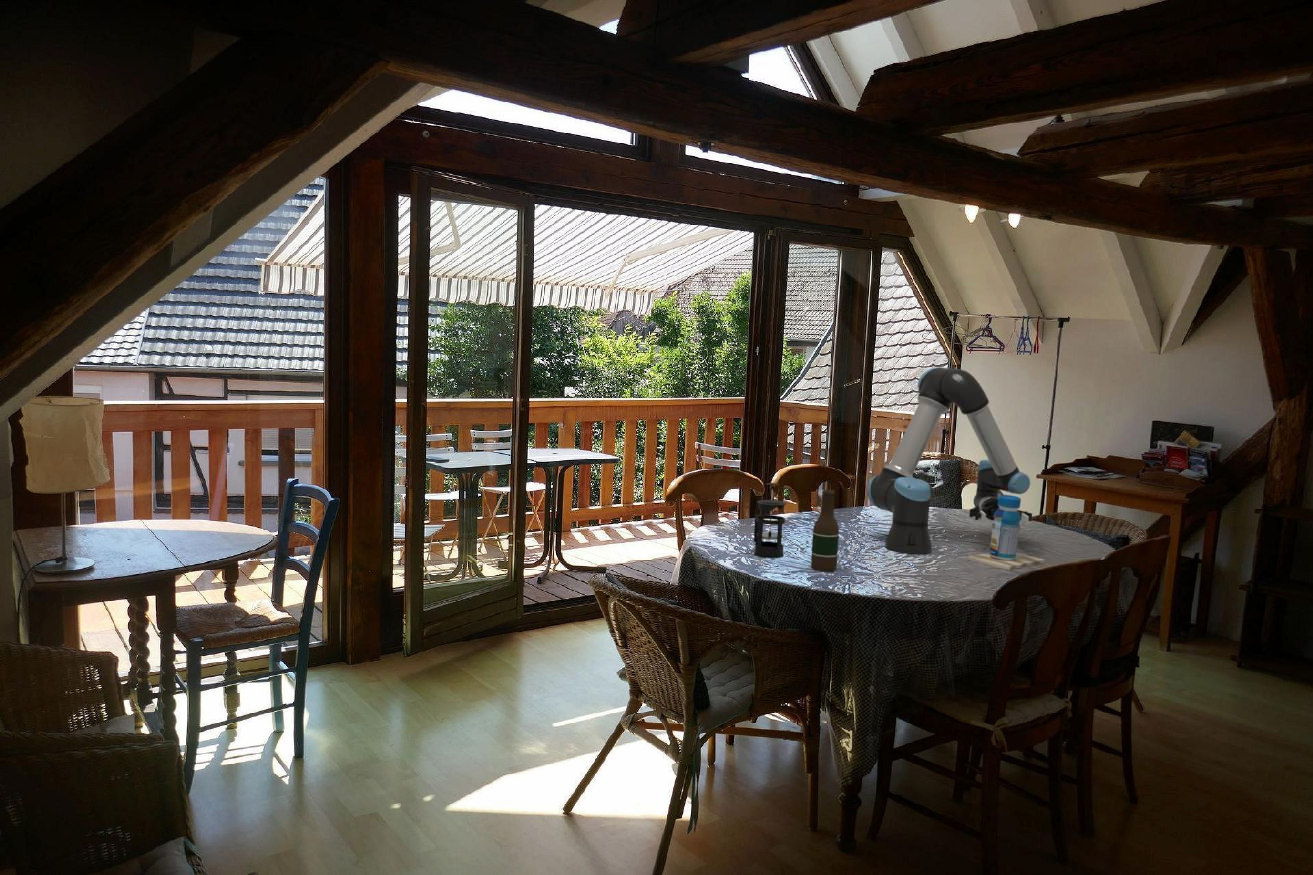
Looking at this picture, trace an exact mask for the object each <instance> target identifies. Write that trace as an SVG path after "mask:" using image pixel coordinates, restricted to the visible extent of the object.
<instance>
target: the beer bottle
mask: <svg viewBox="0 0 1313 875" xmlns="http://www.w3.org/2000/svg"><path fill="white" fill-rule="evenodd" d="M835 493H836V492H835V490H832V489H823V490H822V493H821V494H822V501H821V508H820V514H819V517H818V518H817V519H816V520H815V523H814V526H813V530H812V539H811V540H812V544H811V557H810V558H811V560H810V566H811V569H813V570H815V571H817V572H818V571H819V572H826V573H827V572H834V571H836V569H837V566H838V565H837V564H838V553H839V552H838V551H839V537H840V529H839V528H840V527H839V524H838V523H839V522H837V520H836V517H835V514H834V513H835V511H834V510H835V509H834V504H835V502H834V500H835V499H834V497H835V496H834V495H835Z"/></svg>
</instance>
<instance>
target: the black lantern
mask: <svg viewBox="0 0 1313 875" xmlns="http://www.w3.org/2000/svg"><path fill="white" fill-rule="evenodd" d="M765 485H766V486H770V490H771V499H762V500H757V502H756V503H757V504H758V509H759V510H760V511H765V512H770V514H757V515H756V514H755V516H754V532H753V542H754V543H755V544H754V551H753V555H754V556H756V557H760V558H765V559H766V558H767V559H778V558H779V559H780V558H783V557H784V555H785V554H784V544H782V539H783V538H784V535H783V525H784V524H785V522H786V517H783V516H780V515H773V514H772V513H773V510H776V508H777V509H782V510H785V506H786V505H787V503H786V502H785V501H780V500H775V499H773V497H774V493H773V492H774V489H775V486H776V487H777V486H779V487H780V484H779V483H776V482H768V483H765ZM764 524H765V525H769V530H768V531H767V532H766V531H764ZM772 525H774V526H775V525H777V532H772V530H771V529H772ZM763 540H767V541H763ZM768 540H776V541H768Z"/></svg>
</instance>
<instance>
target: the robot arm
mask: <svg viewBox="0 0 1313 875" xmlns="http://www.w3.org/2000/svg"><path fill="white" fill-rule="evenodd" d="M917 391H918V394H917V398H916V399H917V401H918V405H917V407H916V409H915V411H914V414H913V416H912V418H911V419H910V422H909V424H908V426H907V428H906V430H905V432H904V434H903V436H902V437H901V440H900V442H899V444H898V446H897V448H896V450H895V451H894V454H893V456H892V458H891V460H890V462H889V464H887V465H884V466H883V467H882V469H881V471H880V473H879V474H877V475H874V476H873V477H871V479H869V481H868V484H867V488H866V493H867V494H866V495H867V498H868V501H869V502H870V504H872V505H873V506H874V507H876V508H877V509H880V510H882V511H886V512H890V513H892V518H891V519H892V520H891V526H890V528H889V531H888V534H887V535H886V539H885V543H884V544H885V546H884V547H885V548H886V549H887V550H890V551H893V552H897V553H904V554H915V555H922V554H924V555H925V554H930V553H931V552H932V547H933V543H932V542H931V541H932V540H931V535H930V532H929V519H930V518H929V516H930V515H929V514H930V505H931V504H930V502H931V496H932V493H931V486H930V484H929V483H928V482H927V481H925V480H923V479H920V478H915V477H913V475H914V473H915V470H916V469H917V467H918V465H919V463H920V460H921V458H922V456H923V454H924V452H925V450H926V448H927V446H928V444H929V442H930V439H931V438H932V436H933V434H934V432H935V429H936V427H937V426H938V424H939V422H940V419H941V417H942V415H943V414H946V413H948V412H949V411H950V409H951V407H952V405H953V404H954V405H956V406H957V407H958V408H959V410H960V412H961V414H962V415H966V417H967V419H968V421H969V424H970V425H971V428H972V429H973V432H974V433H975V435H976V437H977V439H978V441H979V444H980V445H981V447H982V449H983V451H984V453H985V455H986V457H987V459H982V460H979V462H978V469H977V480H976V481H977V483H976V494H975V495H974V497H973V505H974V507H973V508H970V509H969V514H968V515H969V518H974V520H975V521H981V522H982V523H986V519H988V520H989V521H992V522H993V521H994V514H995V512H996V510H997V509H998V508H999V507H1000V506H998V498H999V492H1000V491H1002V492H1006V493H1011V494H1016V495H1022V494H1025V493H1026V492H1028V490H1029V488H1030V486H1031V479H1030V477H1029V476H1028V475H1027V473H1024V472H1021V471H1020V470H1019V467H1018V466H1017V463H1016V462H1015V459H1014V457H1013V455H1012V453H1011V451H1010V449H1009V446H1008V445H1007V442H1006V441H1005V439H1004V436H1003V435H1002V432H1001V430H1000V428H999V426H998V424H997V422H996V420H995V418H994V416H993V413H992V412H991V409H990V407H989V404H990V400H989V398H988V397H987V394H986V392H985V391H984V389H983V387H982V386H981V384H980V383H979V382H978V380H977V379H976V378H975V377H974V375H972V374H971V373H970V372H968V371H967V370H964V369H960V368H959V369H958V368H946V367H942V366H941V367H934V368H929V369H927V370H925V371H924V372H923V373H922V374H921V376H920V377H919V379H918V382H917ZM999 490H1000V491H999ZM1017 510H1018V512H1019V514H1020V517H1021V520H1020V522H1021V523H1023V524H1024V525H1026V526H1028V525H1029V522H1032V521H1033V513H1031V512H1028V510H1025V511H1024V510H1020V509H1017Z"/></svg>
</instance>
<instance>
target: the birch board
mask: <svg viewBox="0 0 1313 875" xmlns="http://www.w3.org/2000/svg"><path fill="white" fill-rule="evenodd" d="M966 558H967V561H971V562H975V563H979V564H984V565H986V566H992V567H995V568H999V569H1004V570H1007V571H1010V570H1016V569H1020V568H1024V567H1029V566H1035V565H1039V564H1044V563H1045V559H1043V558H1039V557H1035V556H1030V555H1025V554H1020V553H1017V552H1016V558H1015V559H1014V560H1001V559H996V558H993V557H991V556H990V555H989V552H986V553H980V554H974V555H970V556H969V555H968V556H967V557H966Z"/></svg>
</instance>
